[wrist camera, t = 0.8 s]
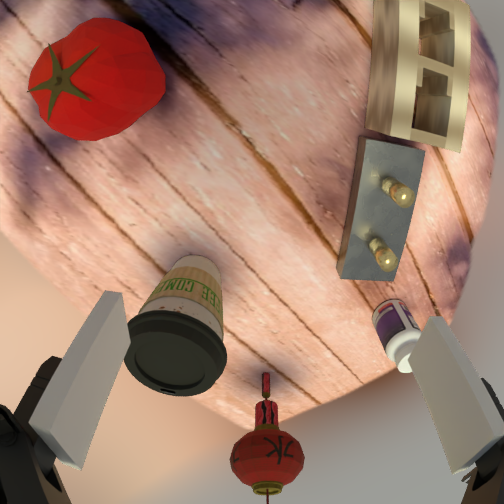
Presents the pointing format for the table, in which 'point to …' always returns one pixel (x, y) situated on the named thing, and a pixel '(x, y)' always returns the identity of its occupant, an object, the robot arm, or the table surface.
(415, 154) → the post rail
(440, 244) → the table surface
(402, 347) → the pill bottle
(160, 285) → the coffee cup
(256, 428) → the lantern
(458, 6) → the cinder block
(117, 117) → the tomato
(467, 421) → the robot arm
